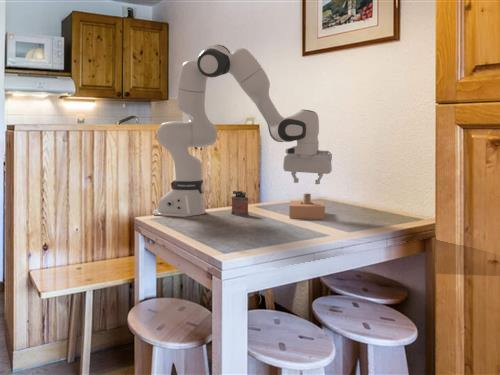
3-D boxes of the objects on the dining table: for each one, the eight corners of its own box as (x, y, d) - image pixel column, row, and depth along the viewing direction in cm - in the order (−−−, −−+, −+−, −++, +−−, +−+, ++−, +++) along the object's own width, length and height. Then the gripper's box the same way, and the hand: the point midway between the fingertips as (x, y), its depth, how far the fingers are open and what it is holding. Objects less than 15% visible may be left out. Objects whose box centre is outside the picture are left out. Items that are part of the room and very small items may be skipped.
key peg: (302, 215, 184) (303, 194, 183) (303, 214, 187) (303, 193, 186) (310, 216, 183) (310, 194, 182) (310, 214, 186) (310, 193, 185)
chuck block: (289, 218, 179) (289, 205, 178) (290, 211, 193) (290, 200, 192) (324, 218, 177) (324, 206, 177) (323, 212, 191) (323, 201, 190)
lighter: (250, 214, 187) (250, 191, 185) (245, 216, 184) (245, 192, 183) (234, 212, 191) (234, 189, 190) (229, 214, 188) (229, 190, 187)
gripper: (334, 150, 180) (333, 184, 182) (288, 148, 190) (287, 180, 192) (329, 151, 175) (328, 186, 177) (281, 149, 184) (281, 182, 186)
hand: (306, 183), depth 184 cm, fingers open, 8 cm apart
